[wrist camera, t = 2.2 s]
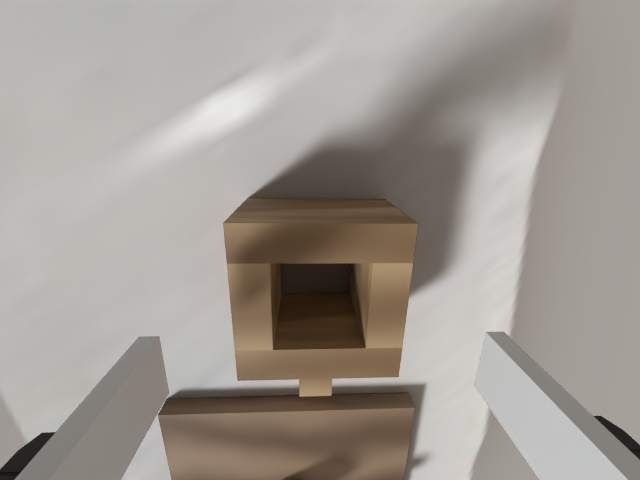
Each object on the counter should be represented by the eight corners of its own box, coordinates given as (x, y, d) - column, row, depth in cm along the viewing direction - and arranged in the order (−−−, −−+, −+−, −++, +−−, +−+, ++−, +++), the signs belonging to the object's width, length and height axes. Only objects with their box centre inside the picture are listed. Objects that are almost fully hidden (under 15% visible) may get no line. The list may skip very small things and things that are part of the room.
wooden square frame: (247, 198, 19) (223, 223, 13) (385, 199, 19) (418, 223, 14) (258, 377, 24) (244, 451, 18) (369, 374, 24) (389, 446, 18)
